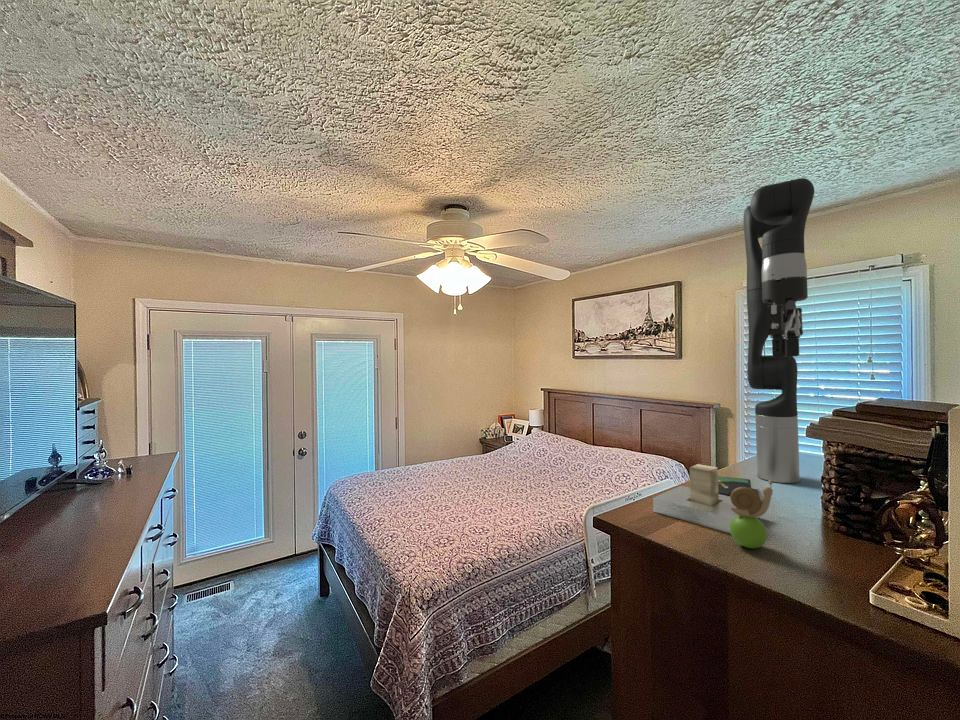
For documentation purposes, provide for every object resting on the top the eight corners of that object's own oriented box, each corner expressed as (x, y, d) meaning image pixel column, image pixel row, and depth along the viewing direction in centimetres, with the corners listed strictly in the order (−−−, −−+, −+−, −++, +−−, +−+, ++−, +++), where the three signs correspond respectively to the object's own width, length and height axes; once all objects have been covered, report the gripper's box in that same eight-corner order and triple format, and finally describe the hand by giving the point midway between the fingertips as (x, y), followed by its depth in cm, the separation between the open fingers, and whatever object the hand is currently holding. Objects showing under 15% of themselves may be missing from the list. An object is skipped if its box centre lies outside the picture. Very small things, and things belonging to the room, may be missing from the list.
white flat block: (681, 498, 95) (680, 485, 95) (759, 517, 83) (758, 502, 83) (653, 511, 88) (653, 497, 88) (735, 535, 75) (734, 519, 75)
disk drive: (753, 509, 89) (750, 489, 101) (753, 496, 89) (750, 478, 101) (700, 501, 94) (703, 483, 107) (700, 490, 94) (703, 473, 107)
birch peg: (699, 509, 88) (697, 464, 88) (719, 514, 85) (717, 467, 85) (690, 514, 86) (689, 467, 86) (710, 519, 82) (709, 471, 82)
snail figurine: (776, 558, 66) (773, 485, 66) (730, 549, 69) (728, 480, 69) (773, 545, 71) (771, 477, 71) (730, 537, 74) (728, 472, 74)
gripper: (773, 285, 91) (776, 356, 91) (750, 278, 82) (752, 357, 82) (816, 279, 85) (818, 355, 85) (795, 271, 76) (798, 356, 76)
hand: (786, 356), depth 83 cm, fingers open, 8 cm apart
